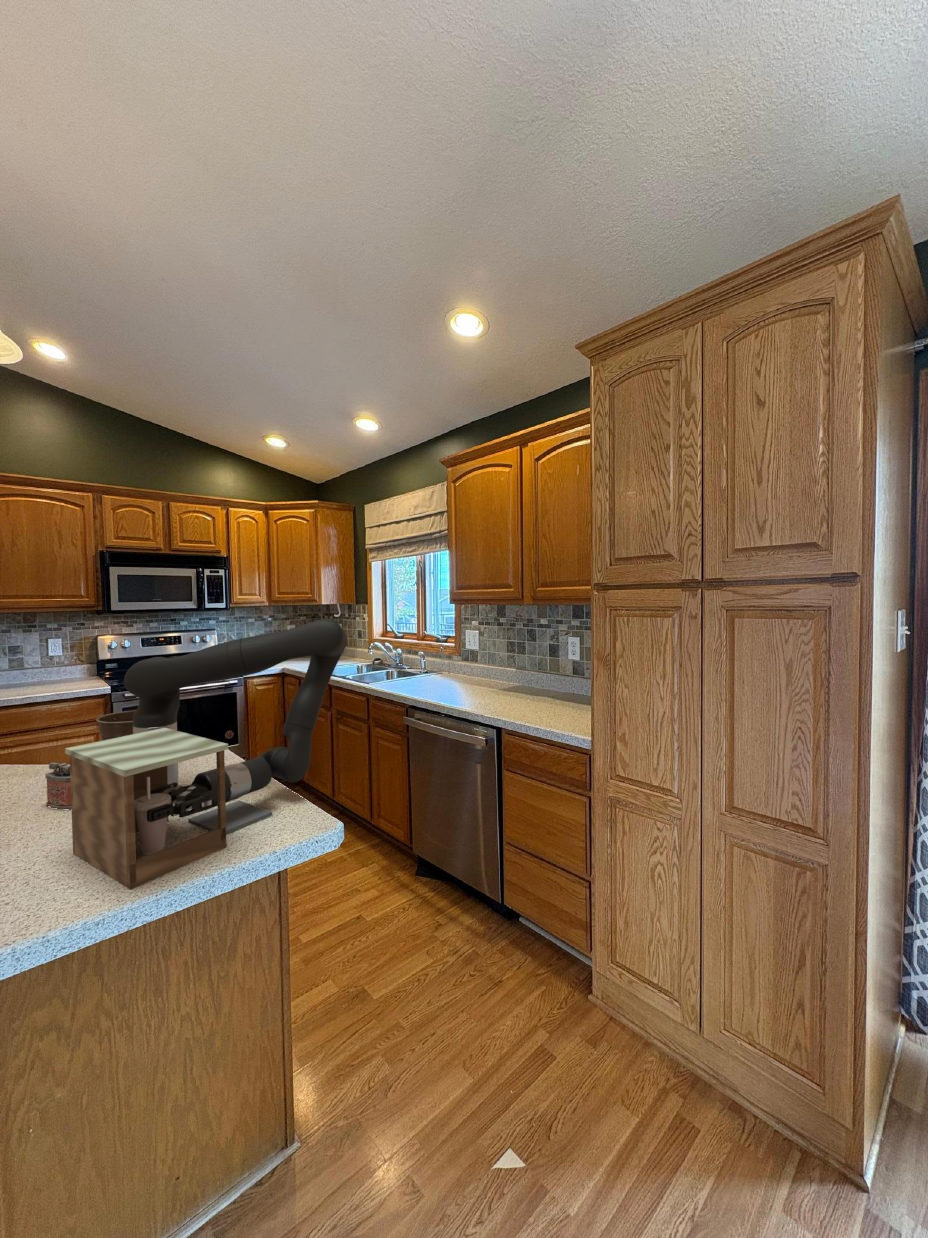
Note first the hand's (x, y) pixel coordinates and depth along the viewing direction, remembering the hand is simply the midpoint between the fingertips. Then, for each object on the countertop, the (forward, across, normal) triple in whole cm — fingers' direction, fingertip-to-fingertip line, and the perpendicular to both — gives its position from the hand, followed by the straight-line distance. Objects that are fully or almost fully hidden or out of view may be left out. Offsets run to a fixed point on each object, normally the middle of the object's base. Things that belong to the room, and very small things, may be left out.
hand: (138, 812), depth 96 cm
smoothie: (-2, 0, +8) cm, 9 cm away
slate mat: (-18, 0, +8) cm, 20 cm away
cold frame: (-2, 0, +8) cm, 8 cm away
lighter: (-1, -39, +8) cm, 40 cm away
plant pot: (-21, -49, +8) cm, 54 cm away
